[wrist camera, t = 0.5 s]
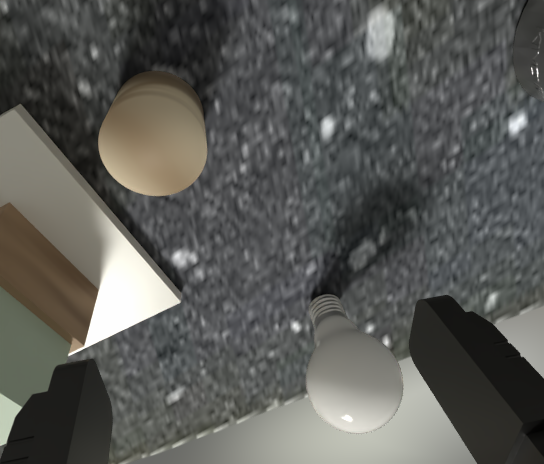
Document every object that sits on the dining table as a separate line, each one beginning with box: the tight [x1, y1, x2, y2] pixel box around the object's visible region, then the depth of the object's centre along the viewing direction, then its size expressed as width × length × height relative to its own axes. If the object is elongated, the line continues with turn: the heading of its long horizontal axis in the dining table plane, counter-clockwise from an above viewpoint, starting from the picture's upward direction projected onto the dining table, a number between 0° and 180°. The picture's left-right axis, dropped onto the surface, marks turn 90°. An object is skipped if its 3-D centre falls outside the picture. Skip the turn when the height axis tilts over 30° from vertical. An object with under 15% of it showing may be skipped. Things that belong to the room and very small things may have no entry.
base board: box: [0, 104, 181, 356], centre depth 27 cm, size 16×16×1 cm
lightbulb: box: [306, 294, 403, 434], centre depth 30 cm, size 6×6×11 cm
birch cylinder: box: [98, 71, 207, 196], centre depth 22 cm, size 5×5×5 cm
